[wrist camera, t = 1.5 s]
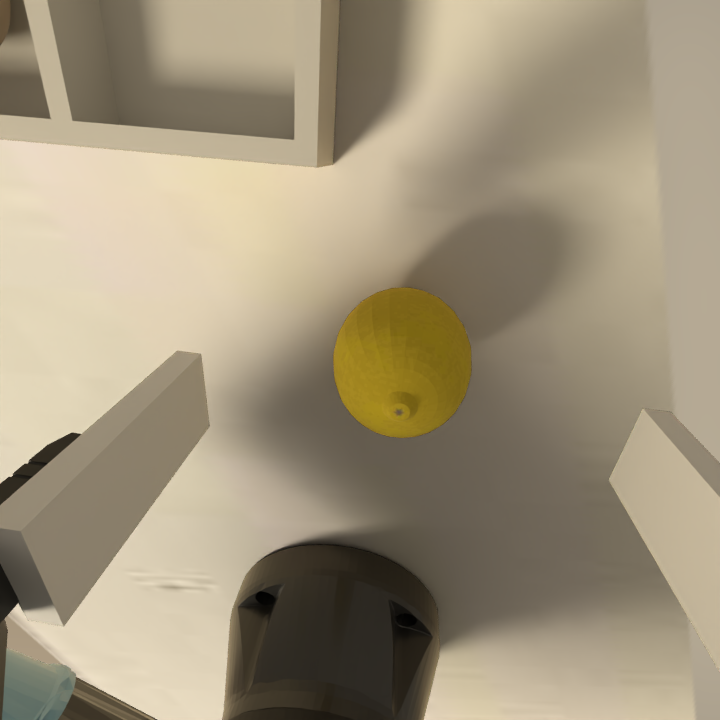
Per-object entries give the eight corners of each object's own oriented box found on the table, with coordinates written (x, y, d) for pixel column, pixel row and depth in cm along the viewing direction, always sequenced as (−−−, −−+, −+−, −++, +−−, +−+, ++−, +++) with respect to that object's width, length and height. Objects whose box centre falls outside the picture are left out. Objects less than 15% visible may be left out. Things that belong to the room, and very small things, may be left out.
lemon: (457, 260, 19) (487, 326, 12) (461, 367, 21) (487, 476, 14) (339, 273, 20) (300, 342, 13) (355, 375, 22) (330, 481, 15)
